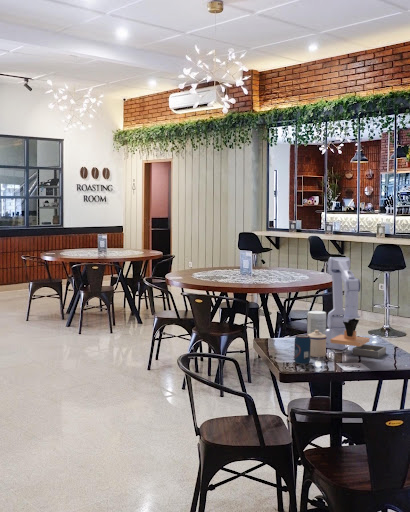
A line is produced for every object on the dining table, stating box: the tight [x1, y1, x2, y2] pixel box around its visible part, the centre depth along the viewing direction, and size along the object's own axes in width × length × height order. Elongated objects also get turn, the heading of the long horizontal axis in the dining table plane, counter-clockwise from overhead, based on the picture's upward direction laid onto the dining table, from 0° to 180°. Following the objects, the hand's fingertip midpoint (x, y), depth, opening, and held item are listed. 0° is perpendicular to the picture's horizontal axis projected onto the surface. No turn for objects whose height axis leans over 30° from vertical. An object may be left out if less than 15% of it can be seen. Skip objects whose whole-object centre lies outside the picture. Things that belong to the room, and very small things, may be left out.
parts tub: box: [352, 343, 387, 359], centre depth 299 cm, size 12×12×3 cm
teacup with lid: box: [308, 330, 327, 358], centre depth 295 cm, size 12×9×12 cm
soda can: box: [293, 334, 311, 365], centre depth 280 cm, size 7×7×12 cm
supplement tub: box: [306, 310, 327, 335], centre depth 327 cm, size 10×10×15 cm
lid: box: [330, 330, 371, 347], centre depth 288 cm, size 14×14×5 cm
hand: (350, 335), depth 288 cm, fingers closed on lid
